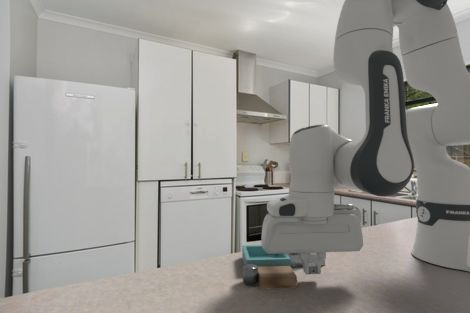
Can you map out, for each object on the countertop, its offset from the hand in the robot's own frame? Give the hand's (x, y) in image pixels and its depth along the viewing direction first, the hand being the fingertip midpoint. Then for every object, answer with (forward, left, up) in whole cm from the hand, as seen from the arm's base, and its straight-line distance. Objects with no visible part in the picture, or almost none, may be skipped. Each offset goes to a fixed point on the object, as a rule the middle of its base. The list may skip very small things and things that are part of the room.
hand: (311, 273), depth 52 cm
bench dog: (+13, 0, -1) cm, 13 cm away
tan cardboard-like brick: (+8, 0, -2) cm, 8 cm away
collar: (-1, -12, -1) cm, 12 cm away
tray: (+8, -8, -1) cm, 12 cm away
